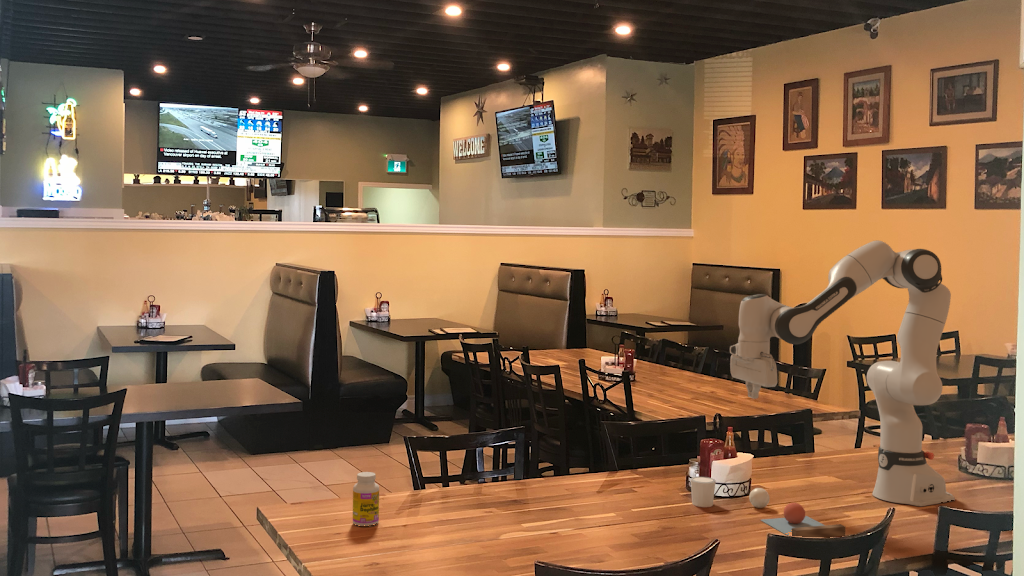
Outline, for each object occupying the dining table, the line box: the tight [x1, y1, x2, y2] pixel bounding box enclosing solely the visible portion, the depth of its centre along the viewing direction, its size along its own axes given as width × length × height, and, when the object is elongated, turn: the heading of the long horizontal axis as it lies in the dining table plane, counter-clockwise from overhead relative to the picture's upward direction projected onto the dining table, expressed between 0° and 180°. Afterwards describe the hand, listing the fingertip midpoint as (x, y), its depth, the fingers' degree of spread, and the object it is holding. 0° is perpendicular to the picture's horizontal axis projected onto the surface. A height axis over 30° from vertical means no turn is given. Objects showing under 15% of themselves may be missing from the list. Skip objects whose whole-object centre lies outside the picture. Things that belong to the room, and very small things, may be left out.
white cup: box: [690, 476, 717, 508], centre depth 254 cm, size 7×7×7 cm
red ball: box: [783, 502, 806, 524], centre depth 238 cm, size 5×5×5 cm
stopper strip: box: [792, 523, 846, 538], centre depth 227 cm, size 14×2×2 cm, turn 106°
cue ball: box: [748, 487, 770, 509], centre depth 251 cm, size 5×5×5 cm
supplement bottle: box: [352, 471, 380, 526], centre depth 233 cm, size 7×7×13 cm
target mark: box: [760, 515, 825, 536], centre depth 235 cm, size 14×14×1 cm
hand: (753, 397), depth 264 cm, fingers closed
